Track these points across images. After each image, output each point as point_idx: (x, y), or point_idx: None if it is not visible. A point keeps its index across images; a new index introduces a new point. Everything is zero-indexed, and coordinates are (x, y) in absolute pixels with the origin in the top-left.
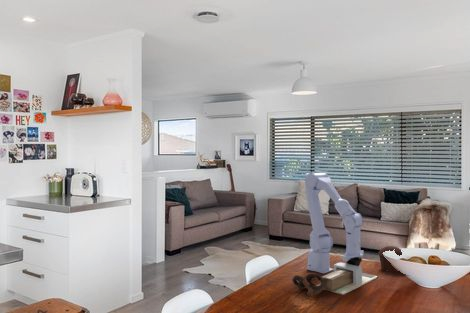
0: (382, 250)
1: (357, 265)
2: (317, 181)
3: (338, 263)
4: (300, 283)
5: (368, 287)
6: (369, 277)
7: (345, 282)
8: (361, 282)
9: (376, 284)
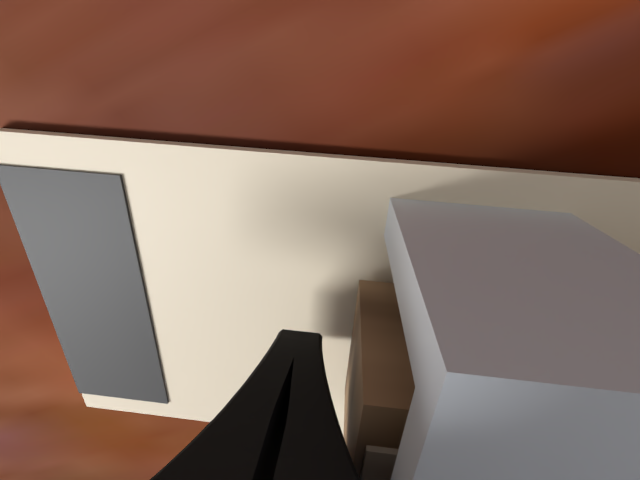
0: None
1: (259, 465)
2: None
3: None
4: None
5: (508, 47)
6: (125, 200)
7: None
8: (408, 200)
9: (285, 3)
